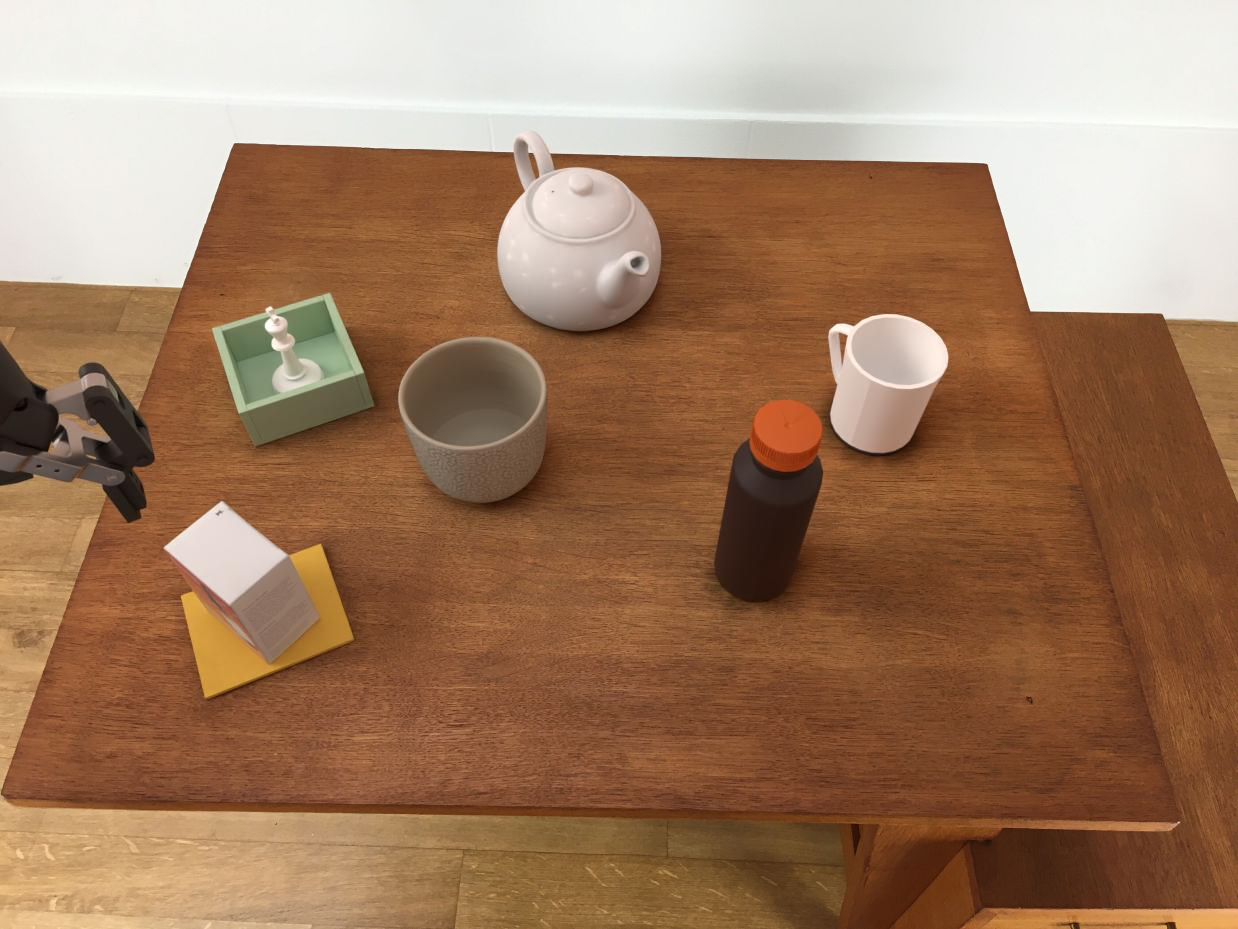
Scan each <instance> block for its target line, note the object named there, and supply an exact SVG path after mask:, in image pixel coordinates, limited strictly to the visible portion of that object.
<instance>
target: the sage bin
mask: <svg viewBox="0 0 1238 929" xmlns="http://www.w3.org/2000/svg"><path fill="white" fill-rule="evenodd" d="M273 310H274V312H275V314H276V315H277V316H279V317H283V318H285V319H286V320H287V323H288V328H287V333H288V334H290V335H292V336H293V337H294V339H295V344H294V346H293V347H292V350H293V351H294V353H295V355H296V356H297V358H298V359H308V360H311V361H314V362H315V363H317V364H318V365H319V367H320V368H321V370H322V371H323V374H324V379H323V380H320V381H317V382H314V383H311V384H308V385H305V386H302V387H299V388H296V389H293V390H289V391H286V392H283V393H280V394H276V393H275V391H274V389H273V384H272V377H273V374H274V372H275V371H276V369H277V368H278V367H279V366H281V365H282V364H283V359H282V355H281V351H277V350H275V349H273V347H272V339H273V336H272V335H271V334H269V333H268V332H267V330H266V329H265V323H266V322H267V321H268V320H269V319H270V316H269V315H268V314H267V313H266V311H265V312H261V313H258V314H254V315H251V316H248V317H245V318H241V319H238V320H234V321H232V322H228V323H225V324H222V325H219V326H215V327H212V328H211V331H212V333H213V337H214V340H215V343H216V346H217V349H218V352H219V355H220V359H221V363H222V365H223V368H224V372H225V375H226V378H227V381H228V383H229V384H228V385H229V387H230V390H231V394H232V397H233V400H234V403H235V407H236V409H237V413H238V416H239V418H240V419H241V421H242V423H243V426H244V428H245V429H246V431H247V433H248V436H249V437H250V439H251V441H252V443H253V446H254V447H258V446H261V445H265V444H267V443H270V442H273V441H276V440H279V439H282V438H286V437H288V436H291V435H294V434H297V433H300V432H303V431H306V430H308V429H311V428H315V427H317V426H320V425H324V424H327V423H329V422H332V421H335V420H338V419H342V418H344V417H347V416H351V415H353V414H357V413H359V412H361V411H365V410H368V409H370V408H371V409H372V408H374V407H375V402H374V400H373V397H372V393H371V390H370V387H369V383H368V380H367V378H366V377H367V376H366V374H365V371H364V368H363V366H362V363H361V362H360V360H359V357H358V354H357V352H356V350H355V347H354V345H353V343H352V340H351V338H350V336H349V333H348V331H347V328H346V325H345V324H344V321H343V319H342V317H341V315H340V312H339V310H338V308H337V305H336V303H335V300H334V298H333V296H332V294H331V292H328V293H324V294H321V295H318V296H314V297H310V298H308V299H307V298H306V299H304V300H301V301H297V302H294V303H291V304H288V305H285V306H281V307H278V308H275V309H274V308H273Z"/></svg>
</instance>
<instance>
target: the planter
mask: <svg viewBox="0 0 1238 929" xmlns="http://www.w3.org/2000/svg"><path fill="white" fill-rule="evenodd" d="M397 401H398V408H399V409H398V410H399V412H400V415H401V419H402V422H403V425H404V428H405V431H406V434H407V438H408V439H409V441H410V444H411V446H412V448H413V452H414V453H415V456H416V459H417V460H418V462H419V464H420V466H421V468H422V470H423V472H424V473H425V475H426V476H427V478H428V479H429V481H430V482H431V483H432V484H433V486H435V487H436V488H437V489H438V490H440V491H441V492H442V493H444V494H445V495H447V496H448V497H451V498H453V499H455V500H459V501H461V502H462V501H463V502H466V503H472V504H473V503H474V504H486V503H488V504H489V503H493V502H498V501H501V500H505V499H507V498H509V497H511V496H513V495H515V494H517V493H518V492H520V491H521V490H522V489H524V488H525V487H526V486H527V485H528V484H529V483H530V482H531V481H532V480H533V479H534V477H535V476H536V474H537V472H538V471H539V470H540V466H541V465H542V462H543V460H544V459H543V458H544V455H545V448H546V443H547V432H548V431H547V430H548V405H549V404H548V387H547V380H546V376H545V374H544V371H543V369H542V367H541V365H540V364H539V362H538V361H537V360H536V359H535V357H533V356H532V355H531V354H530V353H529V352H528V351H527V350H525V349H523V348H522V347H520V346H518V345H517V344H515V343H513V342H511V341H507V340H504V339H502V338H501V339H500V338H497V337H490V336H467V337H460V338H455V339H451V340H448V341H445V342H443V343H440V344H438V345H435V346H434V347H432V348H430V349H429V350H427V351H425V352H424V353H422V354H421V355H420V356H419V357H417V358H416V359H415V360H414V362H412V363H411V364H410V366H409V367H408V369H407V370H406V372H405V373H404V375H403V377H402V379H401V382H400V385H399V388H398V394H397Z"/></svg>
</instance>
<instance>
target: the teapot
mask: <svg viewBox="0 0 1238 929" xmlns="http://www.w3.org/2000/svg"><path fill="white" fill-rule="evenodd" d="M529 149H530V150H531V152H532V154H533V156H534V159H535V161H536V165H537V170H538V178H536V175H535V173H534V170H533V168H532V163H531V160H530V153H529ZM513 158H514V163H515V167H516V171H517V174H518V177H519V180H520V183H521V185H522V188H523V191H524V192H523V193H522V194H521V195H520V196H519V197H518V199H517V200H516V201H515V202H514V203H513V204H512V206H511V208H510V209H509V211H508V212H507V214H506V215H505V218H504V220H503V221H502V222H503V223H502V224H501V228H500V232H499V235H498V241H497V250H496V256H497V267H498V273H499V277H500V280H501V283H502V285H503V288H504V289H505V292H506V294H507V296H508V297H509V299H510V301H511V302H512V303H513V304H514V305H515V306H516V308H518V310H520V311H521V312H522V313H523V314H525V315H526V316H527V317H528V318H530V319H532V320H534V321H536V322H538V323H540V324H542V325H545V326H547V327H551V328H554V329H557V330H561V331H571V332H588V331H589V332H591V331H597V330H603V329H607V328H609V327H613V326H616V325H618V324H620V323H622V322H624V321H626V320H628V319H629V318H631V317H633V316H634V315H635V314H636V313H637V312H638V311H639V310H641V308H642V307H643V306H644V305H645V304H646V303H647V302H648V301H649V299H651V296H652V295H653V293H654V291H655V288H656V286H657V284H658V280H659V276H660V273H661V265H662V245H661V244H662V243H661V240H660V238H661V237H660V235H659V231H658V228H657V225H656V223H655V220H654V218H653V216H652V214H651V213H650V211H649V209H648V208H647V206H646V205H645V204H644V202H642V200H641V199H640V198H639V197H638V196H637V195H636V194H635V193H634V192H633V191H631V189H630V188H629V187H628V186H627V185H626V184H625V183H624V182H623V181H621V180H620V179H619V178H618V177H616V176H615V175H613V174H611V173H608V172H605V171H603V170H599V169H595V168H590V167H579V166H577V167H576V166H575V167H565V168H559V169H556V170H555V167H554V166H555V165H554V163H553V159H552V155H551V153H550V149H549V148H548V146H547V144H546V143H545V141H544V139H543V138H542V136H540V134H539V133H538V132H536V131H534V130H526V131H523V132H521V133H518V134H517V136H515V139H514V142H513Z"/></svg>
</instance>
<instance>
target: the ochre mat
mask: <svg viewBox="0 0 1238 929" xmlns="http://www.w3.org/2000/svg"><path fill="white" fill-rule="evenodd" d="M288 555H289V556H290V558H291V560H292V562H293V564H294V566H295V568H296V570H297V572H298V574H299V576H300V578H301V580H302V582H303V584H304V586H305V588H306V590H307V592H308V594H309V596H310V598H311V600H312V602H313V604H314V606H315V608H316V610H317V612H318V614H319V616H320V619H319V620H318V621H317V622H316V623H315V624H313V625H312V626H311V627H310V628H309V629H308V630H307V631H306V632H305V633H304V634H303V635H302V636H300V637H299V638H298V639H297V640H296V641H295V642H294V643H293V644H292V645H291V646H290V647H289V648H287V649H286V650H285V651H284V652H283V653H282V654H281V655H280V656H279V657H278V658H276V659H275V660H274V661H273V662H272V663H271V664H267V663H266V662H265V661H264V660H263V659H262V658H260V657H259V656H258V655H257V654H256V653H255V652H254V651H253V650H252V649H250V648H249V647H248V646H247V645H246V644H245V643H244V642H243V641H241V640H240V639H239V638H238V637H237V636H236V635H235V634H234V633H233V632H232V631H231V630H229V629H228V628H227V627H226V626H225V625H224V624H222V623H221V622H220V621H219V620H218V619H216V618H215V617H214V616H213V615H211V614H210V613H209V612H208V611H207V610H206V608H205V607H204V606H203V604H202V603H201V601H200V600H199V599H198V597H197V596H196V594H195V593H194V592H193V590H191V591H189V592H187V593H184V594H181V595H180V598H181V604H182V608H183V612H184V616H185V619H186V624H187V628H188V633H189V637H190V640H191V645H192V649H193V653H194V658H195V662H196V665H197V666H196V667H197V670H198V674H199V679H200V684H201V686H202V687H201V688H202V692H203V695H204V699H205V700H206V701H207V700H210V699H213V698H215V697H217V696H220V695H222V694H225V693H227V692H230V691H232V690H234V689H238V688H240V687H242V686H245V685H247V684H250V683H252V682H255V681H258V680H260V679H263V678H265V677H268V676H270V675H272V674H275V673H277V672H280V671H282V670H286V669H288V668H290V667H292V666H294V665H297V664H299V663H303V662H305V661H307V660H310V659H312V658H315V657H317V656H320V655H322V654H326V653H327V652H330V651H332V650H334V649H337V648H339V647H342V646H344V645H347V644H350V643H352V642H355V636H354V634H353V631H352V628H351V626H350V622H349V618H348V617H347V614H346V611H345V608H344V605H343V602H342V599H341V597H340V594H339V591H338V586H337V585H336V581H335V579H334V576H333V573H332V569H331V568H330V564H329V561H328V559H327V555H326V553H325V550H324V547H323V545H322V543H319V544H316V545H313V546H310V547H307V548H306V549H302V550H299V551H297V552H295V553H291V554H288Z"/></svg>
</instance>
